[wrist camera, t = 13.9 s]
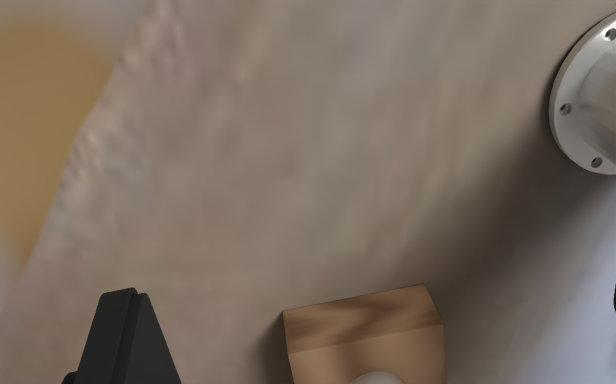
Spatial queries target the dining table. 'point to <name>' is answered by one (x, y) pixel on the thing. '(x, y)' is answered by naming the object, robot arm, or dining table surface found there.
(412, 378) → the walnut block
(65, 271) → the dining table surface
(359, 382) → the pill bottle
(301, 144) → the dining table surface
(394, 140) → the dining table surface
